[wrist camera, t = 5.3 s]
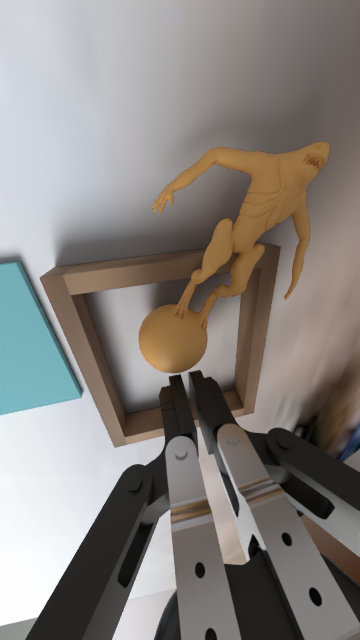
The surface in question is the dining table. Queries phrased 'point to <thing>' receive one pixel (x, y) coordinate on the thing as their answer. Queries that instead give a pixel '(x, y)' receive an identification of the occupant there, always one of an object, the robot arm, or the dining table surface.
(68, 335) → the brown wooden frame
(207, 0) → the dining table surface
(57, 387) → the teal pad
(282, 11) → the dining table surface
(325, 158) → the figurine
